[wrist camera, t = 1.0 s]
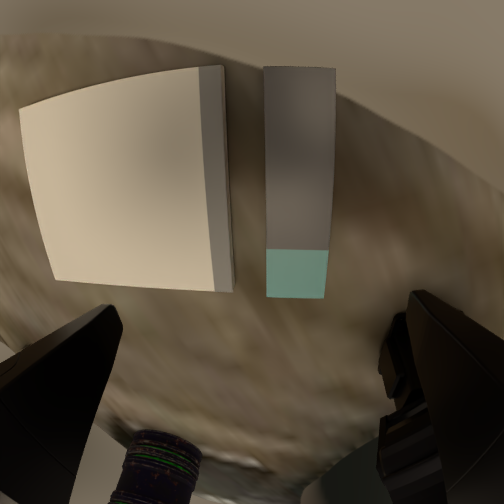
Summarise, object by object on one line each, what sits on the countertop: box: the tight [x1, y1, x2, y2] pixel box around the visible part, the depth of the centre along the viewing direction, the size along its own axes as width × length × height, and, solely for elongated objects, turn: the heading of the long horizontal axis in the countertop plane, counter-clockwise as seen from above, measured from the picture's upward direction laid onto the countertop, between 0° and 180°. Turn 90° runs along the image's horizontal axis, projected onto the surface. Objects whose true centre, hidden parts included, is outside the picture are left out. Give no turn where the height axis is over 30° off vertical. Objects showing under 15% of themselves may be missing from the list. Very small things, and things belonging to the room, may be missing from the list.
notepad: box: [19, 65, 235, 292], centre depth 19 cm, size 15×14×1 cm
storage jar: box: [108, 430, 202, 504], centre depth 29 cm, size 10×10×15 cm
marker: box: [263, 66, 336, 298], centre depth 16 cm, size 3×12×4 cm, turn 2°
